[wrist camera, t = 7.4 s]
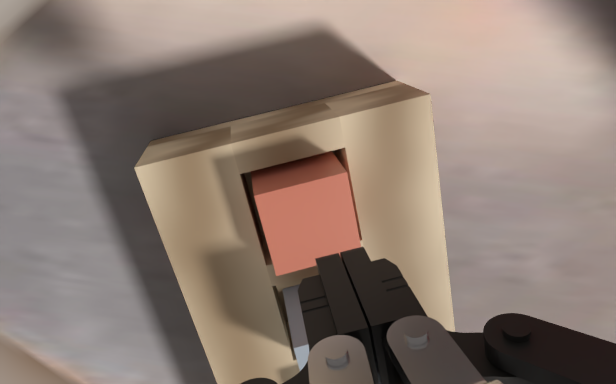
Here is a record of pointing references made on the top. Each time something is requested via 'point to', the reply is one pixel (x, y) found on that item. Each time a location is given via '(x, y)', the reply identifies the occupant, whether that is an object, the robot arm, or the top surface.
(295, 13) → the top surface
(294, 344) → the blue key
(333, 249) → the red key
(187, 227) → the tray
